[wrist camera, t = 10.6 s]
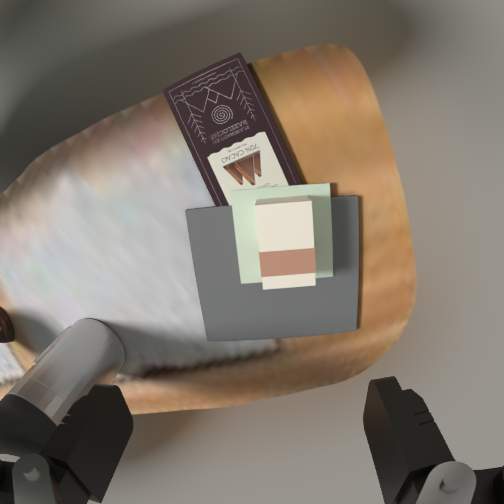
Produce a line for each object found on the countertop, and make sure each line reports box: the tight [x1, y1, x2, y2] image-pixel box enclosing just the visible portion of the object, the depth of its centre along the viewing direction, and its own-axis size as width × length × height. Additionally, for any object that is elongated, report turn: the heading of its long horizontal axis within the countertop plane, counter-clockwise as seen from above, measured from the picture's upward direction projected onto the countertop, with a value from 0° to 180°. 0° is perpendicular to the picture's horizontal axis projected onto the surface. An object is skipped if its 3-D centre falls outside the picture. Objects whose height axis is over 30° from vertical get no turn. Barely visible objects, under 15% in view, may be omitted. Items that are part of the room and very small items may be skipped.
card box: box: [255, 195, 316, 290], centre depth 30 cm, size 8×5×4 cm, turn 6°
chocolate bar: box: [163, 53, 302, 207], centre depth 30 cm, size 9×1×18 cm
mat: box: [185, 183, 359, 341], centre depth 33 cm, size 18×18×1 cm
